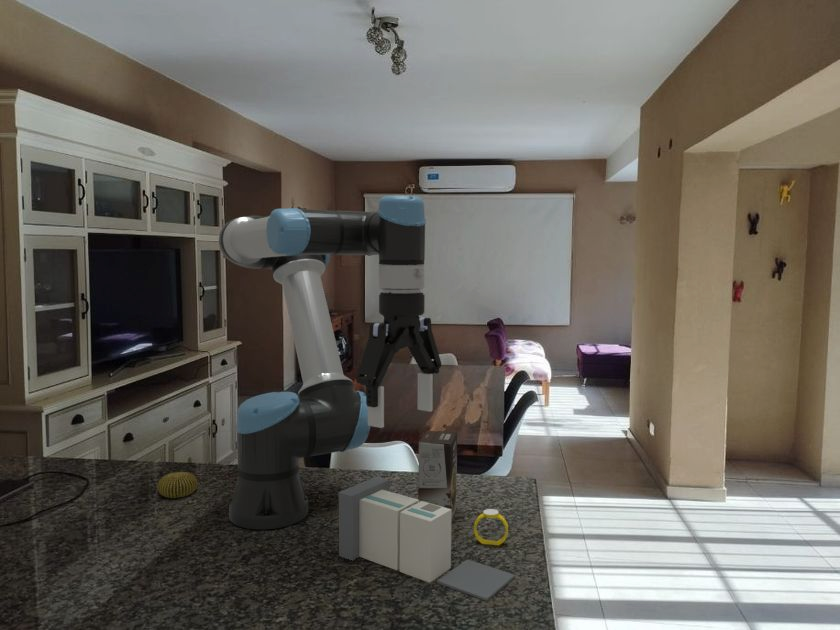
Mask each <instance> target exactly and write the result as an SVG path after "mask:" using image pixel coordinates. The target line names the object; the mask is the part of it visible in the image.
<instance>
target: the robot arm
mask: <svg viewBox="0 0 840 630" xmlns="http://www.w3.org/2000/svg"><path fill="white" fill-rule="evenodd" d="M426 223H427V221H426V217H425V202H424V200H423V199H422V198H421V197H419V196H416V195H415V196H414V195H386V196H383V197H381V198H380V199H379V201H378V209H377V210H376V211H359V210H358V211H356V210H334V209H333V210H332V209H331V210H324V209H323V210H322V209H310V208H309V209H305V208H298V207H286V208H275V209H273V210H272V211H271V212H270V215H265V216H264V215H246V216H240V217H235V218H233V219H231V220H229V221H228V222H226V223H225V224H224V226H222V228H221V230H220V232H219V235H218V236H219V237H218V245H219V250H220V252H221V253H222V254H223V256H224V258H226V259H227V260H228V261H229V262H231V263H233V264H234V265H237V266H239V267H243V268H247V269H257V270H271V272H272V276H273V280H274V281H275V282H276V283H278V284H280V285H281V286H282V290H283V291H282V292H283V295H284V300H285V304H286V309H287V313H288V317H289V319H288V320H289V323H290V328H291V333H292V337H293V341H294V345H295V346H294V347H295V351H296V355H297V359H298V360H297V361H298V365H299V370H300V375H301V378H302V379H301V380H302V384H303V385H302V386H301V388H300V389H299V390H298V392H297V393H295V392H293V391H278V392H277V391H272V392H266V393H263V394H258V395H255V396H252V397H250V398H248V399H246V400H245V401H243V402H242V403H241V404H240V405H239V406H238V409H237V416H236V426H235V429H236V430H235V431H236V438H237V439H236V442H237V444H236V446H237V480H236V483H235V487H234V491H233V495H232V499H231V501H230V503H229V507H228V513H229V514H228V516H229V517H228V518H229V521H230V522H231V523H232V524H234V525H235V526H237V527H240V528H244V529H249V530H274V529H280V528H285V527H289V526H291V525H294V524H297V523H299V522H301V521H302V520H303V519H305V518H306V517H308V515H309V498H308V496H307V495H306V492H305V488H304V485H303V481H302V478H301V476H300V459H301V458H309V457H315V456H321V455H326V454H333V453H338V452H341V453H342V452H343V453H344V452H346V451H348V450H353V449H357V448H360V447H362V445H364V443H365V442H366V441H367V439H368V436H369V434H370V429H371V427H373V428H379V429H383V428H385V387H384V385H383V386H382V385H381V384H382V381H383V380H384V377H385V376H386V374H387V371H388V369H389V367H390V366H391V363H392V361H393V359H394V358H395V357H394V356H395V354H396V353H399V351H400V350H401V349H404V348H408V350H409V352H410V354H411V355H412V357H413V359H414V360H415V361H414V362H415V363H416V364H417V366H418V368H419V371H421V372H418V373H417V410H419V411H423V412H429V413H430V412H433V407H434V406H433V405H434V403H433V401H434V400H433V397H434V395H433V394H434V393H433V392H434V374H439V373H440V369H441V367H442V360H441V357H440V353H439V351H438V348H437V343H436V341H435V336H434V334H433V331H432V329H433V328H432V319H431V318H430V317H424V316H423V315H424V314H425V307H426V306H425V305H426V304H425V299H426V297H425V294H424V292H421V290H423V289H424V288H425V260H426V259H425V256H426V255H425V254H426V252H425V251H426V250H425V249H426ZM331 255H333V256H336V255H337V256H341V255H342V256H343V255H344V256H368V257H369V256H370V257H371V256H378V289H380V290H381V291H382V292H380V293H379V294H378V312H379V314H380V315H381V316H383V323H380V322H379V323H378V322H371V323H370V325H369V331H368V334H369V335H368V339H367V342H366V345H365V349H364V352H363V355H362V359H361V363H360V366H359V369H358V372H357V376H356V379H355V380H356V381H355V382H356V383H357V384H360V385H361V386H365V392H363V391H361V390H355V385H354V382H353V380H352V379H350V377H348V376H346V375H344V371H343V368H342V367H343V365H342V363H341V358H340V353H339V351H338V350H339V349H338V345H337V341H336V337H335V332H334V328H333V323H332V320H331V316H330V312H329V307H328V302H327V299H326V295H325V290H324V286H323V282H322V275H323V274H324V273H325V271H326V266H327V265H328V264H329V261H330V258H331ZM420 316H421V317H420ZM422 316H423V317H422Z"/></svg>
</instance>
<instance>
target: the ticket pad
mask: <svg viewBox="0 0 840 630" xmlns="http://www.w3.org/2000/svg"><path fill="white" fill-rule="evenodd" d="M337 495H338V557H341V558H343V559H346V560H348V559H349V560H348V561H351V560H352V561H351V562H353V561H355V560H357V559H358V558H363V559H364V560H366V561H367V560H368V561H371V562H374V563H375V564H378V565H381V566H385V567H386V568H390V569H392V570H394V571H400V512H401V511H403V510H405V509H407V508H409V507H411V506H413V505H415V504H417V503H419V500H418V498H414V497H410V496H407V495H404V494H403V495H402V494H399V493H396V492H393V491H390V479H388V478H385V477H381V476H377V475H376V476H373V477H371V478H369V479H367V480H365V481H362V482H359V483H357V484H355V485H353V486H349V487H347V488H346V489H343V490H340V491H339V492H338V494H337ZM356 558H357V559H356Z"/></svg>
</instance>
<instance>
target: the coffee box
mask: <svg viewBox="0 0 840 630" xmlns="http://www.w3.org/2000/svg"><path fill="white" fill-rule="evenodd" d="M457 462H458V432H457V431H450V430H449V431H448V430H447V431H446V430H426V432H425V433H424V434H423V436H422V437H421V438H420V440H419V441H418V471H417V472H418V474H417V475H418V476H417V477H418V481H417V482H418V485H417V486H418V487H417V496H418V497H417V499H418V500H419V502H421V501H424V502H427V503H431V504H434V505H438V506H441V507H445V508H448V509H452V518H451V522H452V520H453V518H454V516H455V513H456V511H457V482H458V481H457V476H458V474H457V471H458V470H457V467H458V466H457V465H458V463H457Z"/></svg>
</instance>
